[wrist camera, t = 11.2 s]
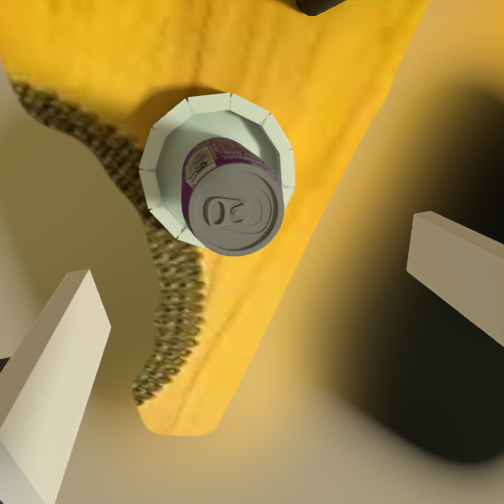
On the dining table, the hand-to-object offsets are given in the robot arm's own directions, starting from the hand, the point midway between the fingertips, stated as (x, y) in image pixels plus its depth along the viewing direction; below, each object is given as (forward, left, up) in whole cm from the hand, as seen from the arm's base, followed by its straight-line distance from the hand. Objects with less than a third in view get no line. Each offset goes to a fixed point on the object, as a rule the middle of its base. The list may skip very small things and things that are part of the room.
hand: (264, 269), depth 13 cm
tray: (0, 0, -21) cm, 21 cm away
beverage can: (0, 0, -20) cm, 20 cm away
